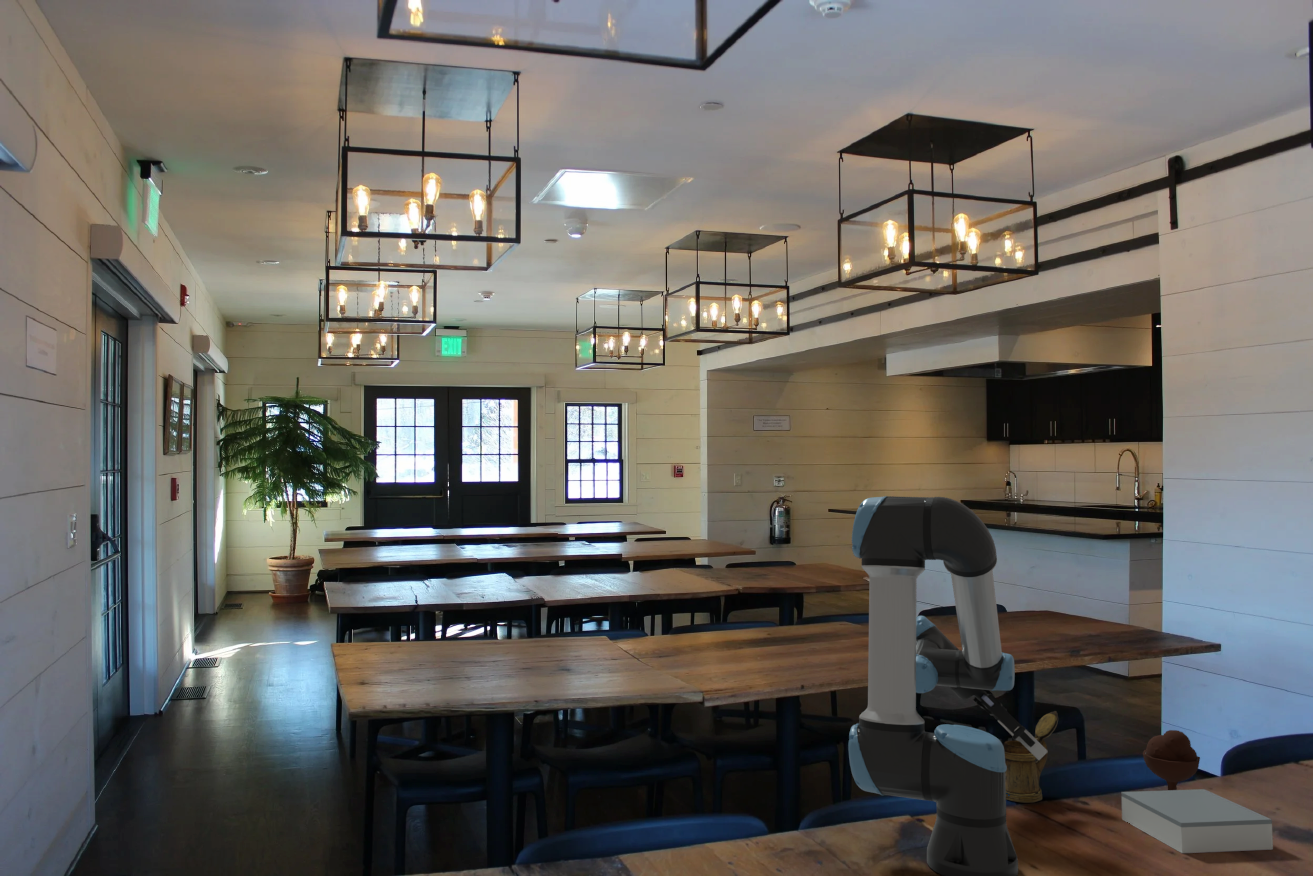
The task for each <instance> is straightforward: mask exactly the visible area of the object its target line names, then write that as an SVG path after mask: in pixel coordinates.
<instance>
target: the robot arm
mask: <svg viewBox="0 0 1313 876" xmlns="http://www.w3.org/2000/svg"><path fill="white" fill-rule="evenodd" d="M851 544H852V547H851V549H852V554H853V556H854V557H856V558H857V559H861V568H862V570H863V571H865V573H866V574H867V575H868V577H869V579H868V581H869V582H868V583H869V584H868V585H869V587H868V589H869V590H868V591H869V593H868V594H869V595H868V596H869V597H868V599H869V600H868V601H869V602H868V603H869V604H868V661H867V662H868V665H867V666H868V667H867V669H868V670H867V674H868V675H867V677H868V678H867V683H868V684H867V685H868V686H867V707H866V709H865V710H864V711H862V712H861V714H859V717H858V720H859V721H858V723H856V724H853V725H852V726H851V727H850V731H849V735H848V739H849V740H848V758H849V766H850V771H851V774H852V775H851V776H852V777H853V779H854V780H853V781H854V782H855V784H856V786H858V788H859V789H861V790H862V791H864V792H868V793H872V794H873V793H874V794H878V795H879V796H882V797H883V796H892V797H900V798H907V799H914V800H920V801H921V800H922V801H928V802H934V803H936V819H935V823H934V824H933V827H932V830H931V831H932V832H931V834H930V837H929V841H928V844H927V848H926V863H927V865H928V866H929V868H930V870H933V871H934V872H936V873H938V874H939V875H941V876H1018V874H1019V859H1018V855H1017V853H1016V849H1015V847H1014V843H1013V841H1012V838H1011V835H1010V832H1009V829H1008V826H1007V799H1006V788H1005V772H1006V770H1007V766H1006V764H1005V753H1004V743H1002V741H1001V740H1000V739H999V738H997V737H996V736H995V735H993V734H991V733H989V732H988V731H984V730H982V729H979V728H975V727H971V726H967V725H962V724H949V723H946V724H945V723H944V724H943V723H942V724H940V725H938V726H936V728H935V729H934V730H933V731H934V732H928V731H925V719H924V718H922V717H921V715H920V714H919V713H918V711H917V708H916V707H917V694H925V693H928V692H931V691H932V690H934V689H935V687H936V686H940V687H949V688H950V691H952V692H953V693H954V695H956V696H957V697H958V698H959V699H960V700H962V701H965V700H968V699H970V698H971V697H973V698H972V701H973V702H974V703H975V704H977V706H978V707H979V708H981V709H983V710H984V711H986V712H987V713H988V714H989V715H990V716H993V718H994V719H995V720H997V722H998V723H999V724H1000V725H1001V726H1002V728H1004V729H1005V730H1006V731H1007V732H1008V733H1009V735H1011V736H1012V737H1011V738H1012V739H1013V741H1020V742H1021V743H1022V744H1023V745H1024V746H1025V747H1026V748H1027V749H1028V750H1029V751H1030V752H1031V753H1032V754H1033V755H1034V756H1035V757H1036V758H1037V759H1036V760H1037V761H1038V760H1040V759H1041V758H1042V757H1043V756H1044V755H1045V754H1046V753H1047V752H1049V751H1048V749H1047V750H1046V749H1045V748H1044V747H1043V746H1042V745H1041V744H1040V743H1039V742H1038V741H1037V740H1036V739H1035V738H1034V737H1035V736H1033V734H1031V732H1029V730H1028V729H1026V727H1025V726H1024V725H1022V724H1021V723H1020V722H1019V721H1017V719H1015V717H1014V716H1013V715H1011V713H1009V712H1008V709H1007V708H1005V706H1003V704H1002V703H1001V701H999V699H997V698H996V697H995V694H993V692H995V691H1001V692H1002V691H1005V692H1006V691H1011V690H1013V688H1014V686H1015V677H1016V675H1015V672H1016V671H1015V659H1014V656H1013V655H1012V654H1010V653H1006V652H1002V651H1003V650H1002V641H1001V635H1000V633H1001V632H1000V625H999V617H998V616H999V614H998V608H997V598H996V589H995V581H994V572H993V571H994V569H995V567H996V566H997V563H998V557H997V547H996V543H995V541H994V538H993V536H992V534H991V532H990V530H989V529H988V527H987V526H986V525H985V523H984V522H983V520H982V519H981V518H980V517H979V516H978V515H977V514H976V513H975V512H974V511H973V510H972V509H970V508H969V507H968V506H966V505H965V504H963V503H962V502H960V501H958V500H955V499H952V498H950V497H949V498H948V497H945V496H934V497H933V496H931V497H930V496H928V497H926V496H920V497H919V496H895V495H893V496H888V495H885V496H875V497H874V496H873V497H868V498H866V499H863V501H862V502H861V503H860V504H859V506H858V508H857V510H856V513H855V517H854V520H853V525H852V533H851ZM929 560H931V561H936V560H938V561H943V566H944V567H945V569H946V571H947V572H949V573H950V576H951V584H952V590H953V596H954V597H953V598H954V602H955V603H954V604H955V605H954V606H955V610H956V611H955V612H956V617H957V622H958V623H957V624H958V632H959V636H960V644H961V649H959V648H958V647H957V646H955V644H954V643H953V642H952V641H951V640H950V639H949V638H948V637H947V636H946V635H945V634H944V633H943V631H941V630H940V629H939V628H938V627H937V625H936V624H935V623H933V622H932V621H931V620H930V619H928V618H927V617H926V616H925V615H917V579H918V578H919V576H921V574H922V573H923V572H924V571H925V570H926V561H929Z"/></svg>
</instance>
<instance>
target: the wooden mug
mask: <svg viewBox="0 0 1313 876" xmlns="http://www.w3.org/2000/svg"><path fill="white" fill-rule="evenodd" d="M1058 722H1059V714H1058V712H1057V710H1054V711H1051V712H1048V713H1046V714H1044V715H1043V716H1042V717H1041V718H1040V719H1038V722H1037V724H1036V725H1035V732H1034V736H1033V737H1034V738H1035V739H1036V740H1037V741H1038V742H1039V743H1040V744H1041V745H1042V746H1043V747H1044V748H1045V749H1046V750H1047V751H1048V745H1047V743H1046V741H1045V740H1046V739H1047V738H1049V737H1050V736H1051V735H1053V732H1054V731H1055V730H1056V728H1057V726H1058ZM1003 747H1004V753H1005V764H1006V766H1007V770H1006V772H1005V788H1006V793H1008V794H1009V795H1010V796H1008V794H1006V801H1007V800H1008V801H1011V802H1016V803H1024V804H1025V803H1026V804H1028V803H1037V802H1040V801H1042V800H1043V794H1042V788H1041V787H1040V776H1041V774H1042V772H1043V769H1044V768H1045V765H1046V762H1047V760H1048V752H1049V751H1048V752H1047V753H1046V754H1045V755H1044V756H1043V757H1042V758H1041V759H1040V760H1038V759H1037V758H1036V757H1035V756H1034V755H1033V754H1032V753H1031V752H1030V751H1029V750H1028V749H1027V748H1026V747H1025V746H1024V745H1023V744H1022V743H1021V742H1020V741H1017V740H1005V741H1004V742H1003ZM1036 760H1037V761H1036Z"/></svg>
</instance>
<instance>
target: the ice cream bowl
mask: <svg viewBox="0 0 1313 876" xmlns="http://www.w3.org/2000/svg"><path fill="white" fill-rule="evenodd" d="M1142 757H1143V760H1144V763H1145V765H1146V767H1147V768H1148V770H1150V771H1151V772H1152V773H1153V774H1154V775H1156V776H1157V777H1158V778H1160V779H1162V780H1165V782H1166V784H1167V790H1178V789H1177V788H1178V787H1177V785H1178V783H1179V782H1184V781H1186V780H1188V779H1190V778H1191V777H1193V776H1194V775H1196V773H1197V771H1198V769H1199V766H1200V760H1201V757H1200V756H1198V755H1197V751H1196V750H1195V749H1194V748H1193V747H1192V744H1191V739H1190V738H1189V737H1188V736H1187V734H1185V733H1184V732H1183V731H1180V730H1175V729H1169V730H1167V731H1165V733H1163V735H1162V734H1158V735H1154V736H1152V737H1151V738H1150V739H1149V740H1148V741H1147V745H1146V749H1144V750H1143V751H1142Z"/></svg>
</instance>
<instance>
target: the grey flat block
mask: <svg viewBox="0 0 1313 876" xmlns="http://www.w3.org/2000/svg"><path fill="white" fill-rule="evenodd" d="M1120 793H1121V819H1122V821H1124V822H1126V823H1127V822H1128V823H1127V824H1129V823H1130V824H1129V825H1131V826H1133V827H1134V828H1137V829H1138V830H1140V831H1142V832H1144V833H1146V834H1147V835H1149V836H1150V837H1152V838H1155V840H1157V841H1159V842H1161V843H1163V844H1164V845H1167V846H1168V847H1170V848H1172V849H1173V850H1175V851H1177V852H1179V853H1180V854H1193V853H1194V854H1195V853H1196V854H1197V853H1200V854H1201V853H1221V852H1241V851H1244V852H1245V851H1266V850H1267V851H1268V850H1271V851H1272V850H1273V849H1274V846H1273V845H1274V844H1273V843H1274V842H1273V839H1274V838H1273V819H1271V818H1269V817H1268V816H1265V815H1263V814H1260V813H1258V812H1256V811H1254V810H1252V809H1250V808H1247V807H1245V806H1243V805H1241V804H1238V803H1236V802H1234V801H1232V800H1229V799H1227V798H1225V797H1222V796H1220V795H1219V794H1216V793H1214V792H1212V791H1209V790H1207V789H1205V788H1202V789H1201V788H1200V789H1177V790H1168V789H1167V790H1142V791H1141V790H1140V791H1139V790H1138V791H1121V792H1120Z"/></svg>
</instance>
